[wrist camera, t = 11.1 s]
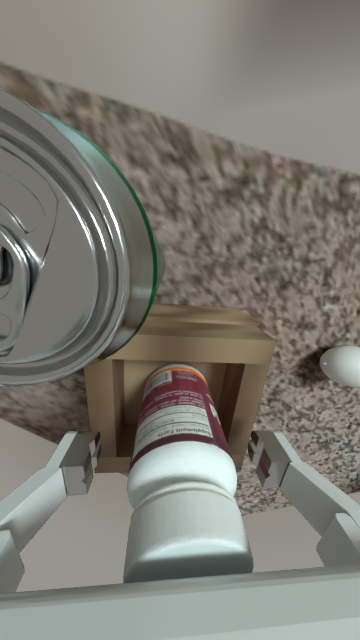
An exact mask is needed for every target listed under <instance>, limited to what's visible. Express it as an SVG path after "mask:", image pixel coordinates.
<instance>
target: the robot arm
mask: <svg viewBox="0 0 360 640" xmlns="http://www.w3.org/2000/svg"><path fill="white" fill-rule="evenodd" d="M100 437H101V436H100V432H89V431H68V432H67V433H66V434H65V435H64V437H63V438H62V440H61V442H60V443H59V445H58V447H57V448H56V450H55V452H54V453H53V455H52V456H51V458H50V460H49V462H48V463H47V465H46V466H45V468H41V469H39V470H38V471H37V472H36V473H34V474H33V475H32V476H31V477H30V478H28V479H27V480H26V481H25V482H24V483H22V484H21V485H20V486H18V487H17V488H16V489H15V490H14V491H13V492H11V493H10V494H9V495H7V496H6V497H5V498H4V499H3V500H1V501H0V640H360V505H359V504H358V503H357V502H355V501H354V500H353V499H352V498H350V497H349V496H348V495H346V494H345V493H344V492H343V491H341V490H340V489H339V488H337V487H336V486H335V485H334V484H332V483H331V482H330V481H328V480H327V479H326V478H325V477H323V476H322V475H321V474H319V473H318V472H317V471H316V470H314V469H313V468H312V467H310V466H309V465H308V464H307V463H305V462H302V461H301V460H300V458H299V457H298V455H297V454H296V452H295V451H294V449H293V448H292V446H291V445H290V444H289V442H288V441H287V439H286V438H285V436H284V435H283V433H282V432H281V431H270V430H263V431H252V432H251V438H252V439H251V440H250V441H249V443H248V453H249V457H250V459H251V462H252V463H253V464H254V465H255V466H256V467H257V469H256V473H257V476H258V478H259V480H260V483H261V485H262V487H263V488H280V490H281V492H282V493H283V494H284V495H285V496H286V497H287V498H288V499H289V501H290V502H291V503H292V504H293V505H294V506H295V507H296V508H297V510H298V511H299V512H300V513H301V514H302V515H303V516H304V517H305V519H306V520H307V521H308V522H309V523H310V524H311V525H312V526H313V528H315V530H316V531H317V532H318V533H319V534H320V535H321V537H322V538H321V540H320V541H319V543H318V545H317V552H318V554H319V556H320V558H321V560H322V562H323V564H324V566H325V567H316V568H305V569H292V570H280V571H269V572H256V573H243V574H231V575H219V576H207V577H195V578H183V579H171V580H158V581H146V582H134V583H122V584H110V585H98V586H87V587H73V588H61V589H49V590H38V591H25V592H16V590H17V587H18V585H19V583H20V581H21V578H22V576H23V574H24V565H23V563H22V560H21V558H20V555H19V553H20V552H21V551H22V549H23V548H24V547H25V546H26V545H27V543H28V542H29V541H30V540H31V539H32V538H33V536H34V535H35V534H36V533H37V532H38V530H39V529H40V528H41V527H42V526H43V524H44V523H45V522H46V521H47V520H48V519H49V517H50V516H51V515H52V514H53V513H54V512H55V510H56V509H57V508H58V507H59V506H60V504H61V503H62V502H63V501H64V500H65V499H66V497H67V495H83V494H87V493H88V490H89V487H90V484H91V481H92V479H93V469H94V468H95V467H96V466H97V464H98V461H99V458H100V454H101V442H100V441H99V440H100Z"/></svg>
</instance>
